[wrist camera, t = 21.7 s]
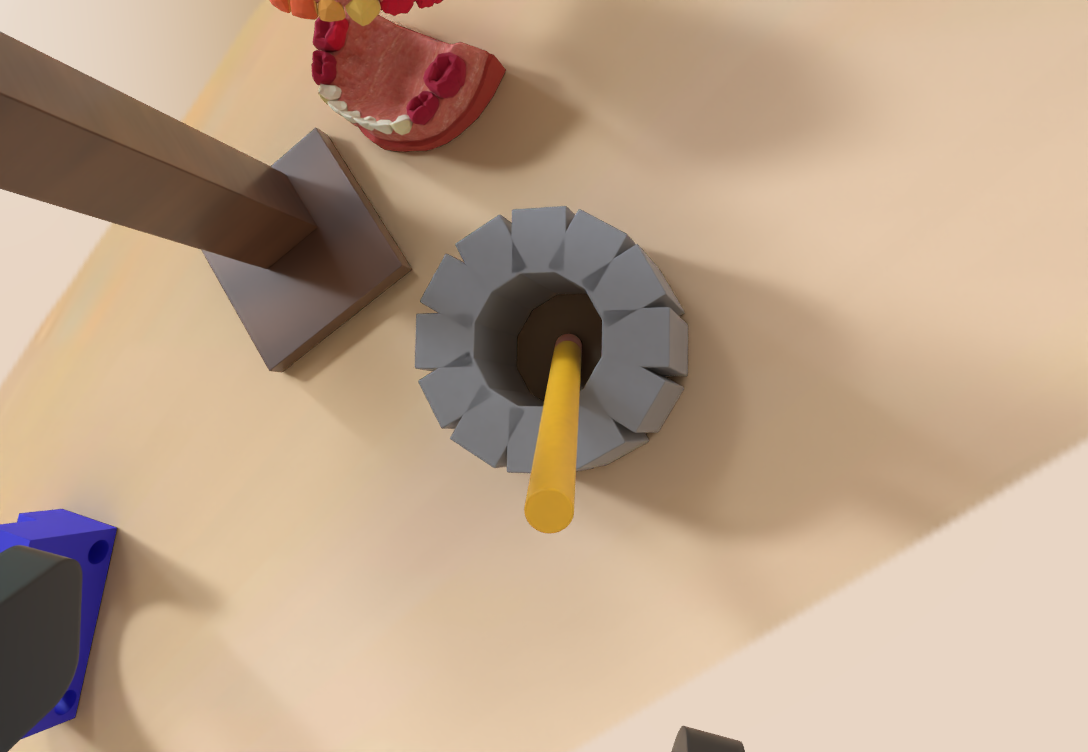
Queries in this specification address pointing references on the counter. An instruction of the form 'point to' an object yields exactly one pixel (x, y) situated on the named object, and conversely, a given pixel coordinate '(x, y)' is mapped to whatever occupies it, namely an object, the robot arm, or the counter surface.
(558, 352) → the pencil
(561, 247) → the grey segmented ring
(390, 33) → the anatomical model
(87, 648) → the cable clip
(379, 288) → the brown pedestal stand
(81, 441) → the counter surface
